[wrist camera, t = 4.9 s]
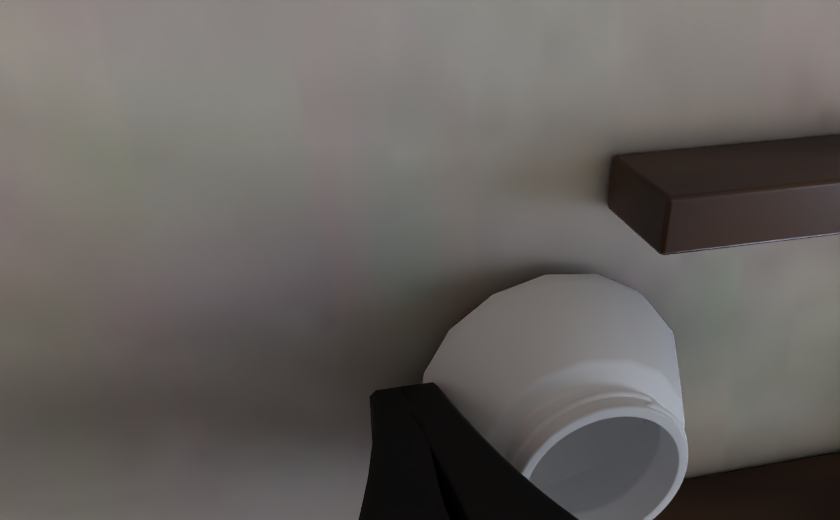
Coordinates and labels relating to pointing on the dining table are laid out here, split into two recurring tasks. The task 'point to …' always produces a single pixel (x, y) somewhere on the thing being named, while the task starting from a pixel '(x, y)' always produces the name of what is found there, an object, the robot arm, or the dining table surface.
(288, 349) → the dining table surface
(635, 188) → the frame
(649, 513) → the lidless jar
